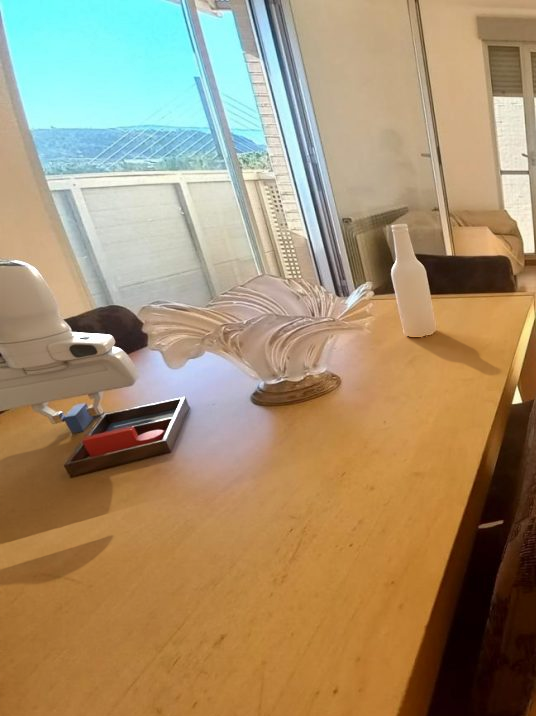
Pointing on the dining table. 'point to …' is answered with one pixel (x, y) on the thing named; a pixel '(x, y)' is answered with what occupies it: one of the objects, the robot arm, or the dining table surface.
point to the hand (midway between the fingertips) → (78, 418)
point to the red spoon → (119, 440)
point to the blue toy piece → (78, 418)
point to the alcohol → (411, 287)
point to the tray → (143, 420)
